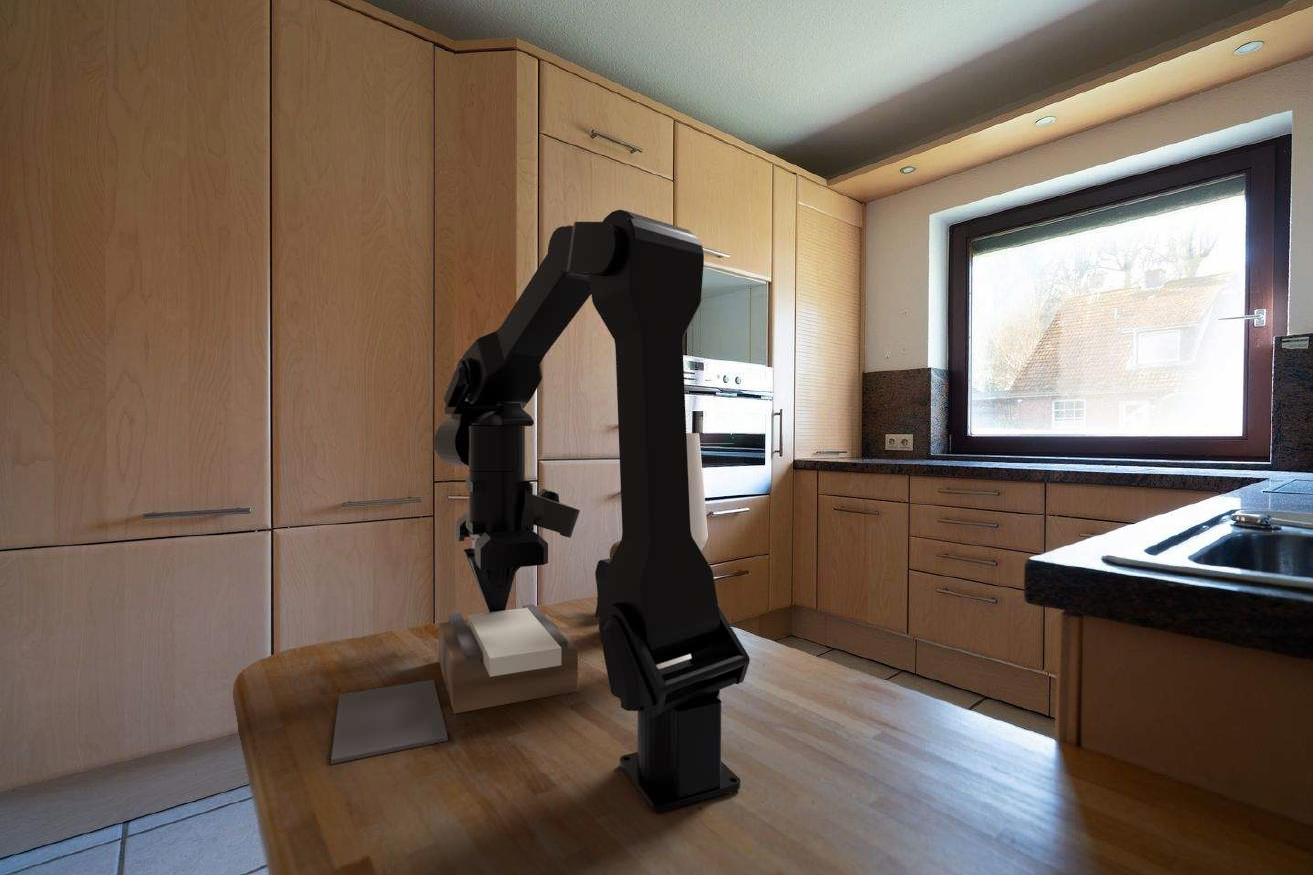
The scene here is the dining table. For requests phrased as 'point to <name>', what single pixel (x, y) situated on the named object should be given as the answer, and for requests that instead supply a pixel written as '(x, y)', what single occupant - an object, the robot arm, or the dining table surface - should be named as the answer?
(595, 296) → the robot arm
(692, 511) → the champagne flute
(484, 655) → the cover plate
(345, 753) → the mat
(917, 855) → the dining table surface
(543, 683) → the lid box
